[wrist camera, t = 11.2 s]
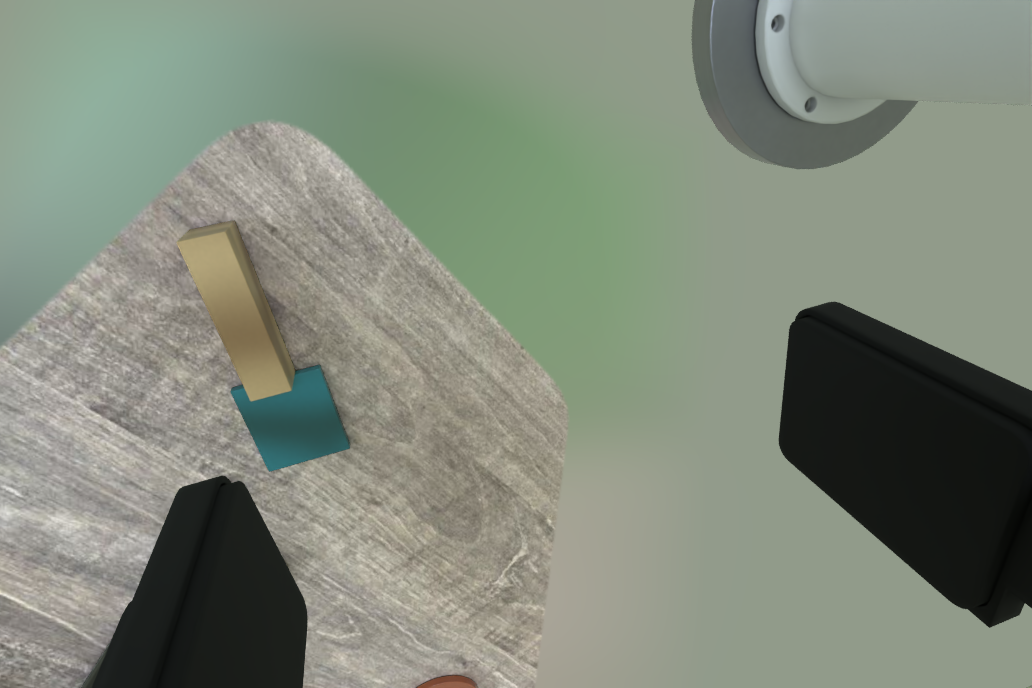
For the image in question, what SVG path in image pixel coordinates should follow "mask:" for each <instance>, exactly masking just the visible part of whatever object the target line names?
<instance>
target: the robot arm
mask: <svg viewBox="0 0 1032 688" xmlns="http://www.w3.org/2000/svg"><path fill="white" fill-rule="evenodd" d="M755 36H756V52H757V59H758V63H759V67H760V72H761V75H762V78H763V80H764V82H765V84H766V87H767V89H768V91H769V93H770V94H771V96H772V97H773V98H774V100H775V101H776V102H777V104H778V105H779V106H780V107H781V108H783V109H784V110H785V111H786V112H788V113H789V114H790V115H792V116H794V117H796V118H798V119H801V120H803V121H807V122H814V123H820V124H838V123H842V122H847V121H852V120H854V119H856V118H859V117H861V116H863V115H865V114H867V113H869V112H871V111H872V110H874V109H875V108H876V107H878V106H879V105H881V104H882V103H884V102H885V101H886V100H909V101H934V102H958V103H982V104H1007V105H1031V106H1032V0H759V4H758V8H757V19H756V30H755ZM779 446H780V449H781V451H782V453H783V455H784V456H785V458H786V459H787V460H788V461H789V462H790V463H792V464H793V465H794V466H795V467H796V468H797V469H798V470H800V471H801V472H802V473H803V474H804V475H805V476H806V477H808V478H809V479H810V480H811V481H812V482H814V483H815V484H816V485H817V486H818V487H819V488H820V489H821V490H823V491H824V492H825V493H826V494H827V495H828V496H830V497H831V498H832V499H833V500H834V501H835V502H836V503H838V504H839V505H840V506H841V507H842V508H843V509H844V510H846V511H847V512H848V513H849V514H850V515H852V517H854V518H855V519H856V520H857V521H858V522H859V523H861V524H862V525H863V526H864V527H865V528H866V529H868V530H869V531H870V532H871V533H872V534H873V535H874V536H875V537H877V538H878V539H879V540H880V541H881V542H882V543H884V544H885V545H886V546H887V547H888V548H889V549H891V550H892V551H893V552H894V553H895V554H896V555H897V556H898V557H900V558H901V559H902V560H903V561H904V562H905V563H907V564H908V565H909V566H910V567H911V568H912V569H914V570H915V571H916V572H917V573H918V574H919V575H921V577H923V578H924V579H925V580H926V581H927V582H928V583H930V584H931V585H932V586H933V587H934V588H935V589H936V590H938V591H939V592H940V593H941V594H942V595H943V596H945V597H946V598H947V599H948V600H949V601H950V602H952V603H953V604H955V605H956V606H958V607H960V608H963V609H968V610H969V611H970V612H972V613H973V614H974V615H975V616H976V617H977V618H979V619H980V620H981V621H982V622H983V623H985V624H986V625H987V626H988V627H989V628H990V627H992V626H995V625H997V624H999V623H1002V622H1004V621H1006V620H1009V619H1011V618H1013V617H1016V616H1018V615H1019V614H1020V613H1021V610H1022V608H1023V606H1024V604H1025V603H1026V604H1027V605H1028V606H1030V607H1031V608H1032V391H1031V390H1029V389H1026V388H1024V387H1022V386H1020V385H1018V384H1015V383H1013V382H1011V381H1009V380H1007V379H1005V378H1002V377H1000V376H998V375H996V374H994V373H992V372H989V371H987V370H985V369H983V368H980V367H978V366H976V365H974V364H972V363H969V362H968V361H965V360H963V359H961V358H959V357H956V356H954V355H952V354H950V353H948V352H946V351H944V350H941V349H939V348H937V347H935V346H933V345H930V344H928V343H926V342H924V341H922V340H919V339H917V338H915V337H913V336H911V335H909V334H906V333H904V332H902V331H900V330H898V329H895V328H893V327H891V326H889V325H887V324H885V323H882V322H880V321H878V320H876V319H874V318H871V317H869V316H867V315H865V314H862V313H860V312H858V311H856V310H854V309H852V308H850V307H847V306H845V305H843V304H841V303H837V302H828V303H825V304H821V305H818V306H814V307H811V308H807V309H804V310H802V311H800V312H799V313H798V315H797V316H796V319H795V321H794V322H793V323H792V324H791V326H790V329H789V339H788V350H787V360H786V370H785V380H784V390H783V401H782V412H781V422H780V432H779ZM306 636H307V609H306V604H305V601H304V598H303V596H302V594H301V592H300V590H299V588H298V586H297V584H296V582H295V580H294V578H293V576H292V575H291V573H290V571H289V569H288V567H287V565H286V563H285V561H284V559H283V557H282V555H281V553H280V551H279V549H278V547H277V546H276V544H275V542H274V540H273V538H272V536H271V534H270V532H269V530H268V528H267V526H266V524H265V522H264V520H263V518H262V516H261V515H260V513H259V511H258V509H257V507H256V505H255V503H254V501H253V499H252V497H251V495H250V493H249V491H248V489H247V488H246V486H245V484H244V483H242V482H241V481H237V482H234V483H231V481H230V480H229V479H228V478H227V477H226V476H219V477H215V478H212V479H208V480H205V481H201V482H198V483H194V484H191V485H187V486H184V487H182V488H180V489H179V490H178V492H177V494H176V496H175V498H174V501H173V503H172V506H171V508H170V510H169V513H168V515H167V518H166V520H165V523H164V525H163V527H162V530H161V532H160V535H159V537H158V540H157V542H156V544H155V547H154V549H153V552H152V554H151V557H150V559H149V561H148V564H147V566H146V569H145V571H144V574H143V576H142V578H141V581H140V583H139V586H138V588H137V590H136V593H135V595H134V598H133V600H132V601H131V602H130V603H129V604H128V606H127V607H126V609H125V611H124V613H123V614H122V616H121V619H120V621H119V624H118V626H117V628H116V631H115V633H114V635H113V638H112V640H111V643H110V645H109V647H108V650H107V652H106V654H105V657H104V659H103V662H102V664H101V666H100V669H99V671H98V674H97V676H96V678H95V681H94V683H93V685H92V688H303V676H304V663H305V649H306ZM1028 688H1032V686H1030V687H1028Z"/></svg>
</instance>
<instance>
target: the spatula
mask: <svg viewBox="0 0 1032 688" xmlns="http://www.w3.org/2000/svg"><path fill="white" fill-rule="evenodd" d="M177 245H178V247H179V249H180V252H181V254H182V256H183V258H184V260H185V262H186V264H187V267H188V269H189V271H190V273H191V275H192V277H193V279H194V282H195V284H196V286H197V288H198V290H199V292H200V294H201V297H202V299H203V301H204V303H205V305H206V307H207V309H208V311H209V314H210V316H211V318H212V320H213V322H214V324H215V326H216V329H217V331H218V333H219V335H220V337H221V339H222V341H223V344H224V346H225V348H226V350H227V352H228V354H229V356H230V359H231V361H232V363H233V365H234V367H235V369H236V371H237V374H238V376H239V378H240V380H241V382H242V384H243V385H240V386H237V387H233V388H232V389H231V394H232V396H233V398H234V400H235V402H236V404H237V406H238V408H239V410H240V412H241V415H242V417H243V419H244V421H245V423H246V425H247V427H248V429H249V431H250V433H251V435H252V437H253V439H254V441H255V444H256V446H257V448H258V450H259V452H260V454H261V456H262V458H263V460H264V462H265V464H266V466H267V468H268V470H269V472H270V471H274V470H277V469H281V468H284V467H287V466H291V465H294V464H298V463H301V462H305V461H308V460H312V459H315V458H319V457H322V456H325V455H329V454H332V453H336V452H339V451H343V450H346V449H349V448H350V442H349V440H348V437H347V435H346V432H345V429H344V427H343V424H342V421H341V419H340V416H339V413H338V411H337V408H336V406H335V403H334V400H333V398H332V395H331V392H330V390H329V387H328V384H327V382H326V379H325V377H324V374H323V371H322V369H321V366H320V365H317V366H313V367H309V368H305V369H302V370H298V371H295V368H294V366H293V363H292V361H291V358H290V356H289V353H288V351H287V348H286V346H285V344H284V341H283V339H282V336H281V334H280V331H279V329H278V326H277V324H276V321H275V319H274V316H273V314H272V312H271V309H270V307H269V304H268V302H267V299H266V297H265V294H264V292H263V289H262V287H261V285H260V282H259V280H258V277H257V275H256V272H255V270H254V267H253V265H252V262H251V260H250V257H249V255H248V253H247V250H246V248H245V245H244V243H243V240H242V238H241V235H240V233H239V230H238V228H237V225H236V223H235V221H228V222H223V223H219V224H214V225H209V226H205V227H200V228H195V229H190V230H189V231H188V232H187V233H186V234H185V235H183V236H182V237H181V238H180V239H179V240H178V241H177Z"/></svg>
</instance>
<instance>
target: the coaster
mask: <svg viewBox="0 0 1032 688" xmlns="http://www.w3.org/2000/svg"><path fill="white" fill-rule="evenodd" d="M417 688H478V686H477V684H476V683H475V682H474V681H473V680H471V679H469V678H467V677H463V676H443V677H439V678H435V679H432V680H430V681H427V682H425V683H423V684H422V685H420V686H418V687H417Z"/></svg>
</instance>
